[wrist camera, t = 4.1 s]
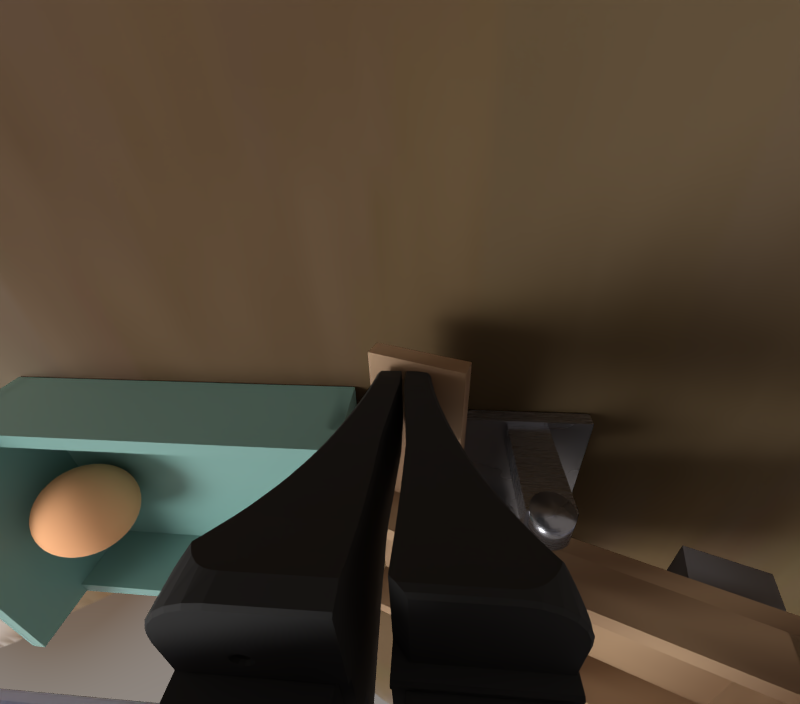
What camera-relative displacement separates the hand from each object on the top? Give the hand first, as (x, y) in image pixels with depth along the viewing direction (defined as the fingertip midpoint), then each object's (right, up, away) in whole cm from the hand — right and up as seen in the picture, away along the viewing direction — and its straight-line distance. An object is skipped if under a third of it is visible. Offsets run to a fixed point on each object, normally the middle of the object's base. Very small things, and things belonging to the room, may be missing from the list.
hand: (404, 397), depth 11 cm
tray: (-9, -5, +8) cm, 13 cm away
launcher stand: (+5, -5, +7) cm, 10 cm away
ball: (-15, -6, +6) cm, 17 cm away
